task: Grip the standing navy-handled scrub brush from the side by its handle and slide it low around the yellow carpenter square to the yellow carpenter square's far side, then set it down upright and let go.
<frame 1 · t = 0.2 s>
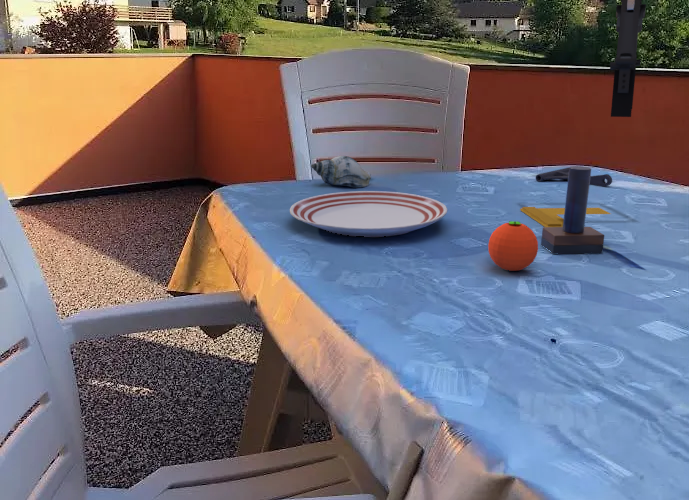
hand: (622, 112, 107), 21 cm above the table, tool pointing down, fingers open, 13 cm apart
clementine: (510, 269, 102), on the table
seashell: (341, 185, 157), on the table
bracket: (579, 182, 165), on the table
dinner plate: (367, 225, 125), on the table
yellow carpenter square: (575, 218, 131), on the table
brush: (571, 249, 112), on the table
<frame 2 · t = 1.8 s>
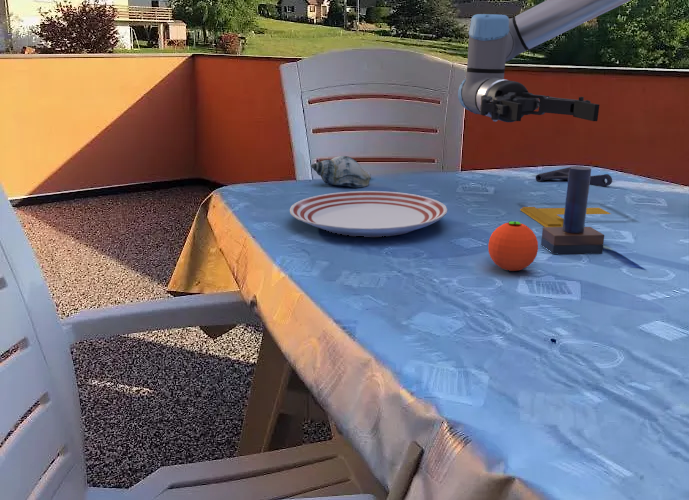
hand: (558, 112, 114), 20 cm above the table, tool horizontal, fingers open, 13 cm apart
nothing on the table moved.
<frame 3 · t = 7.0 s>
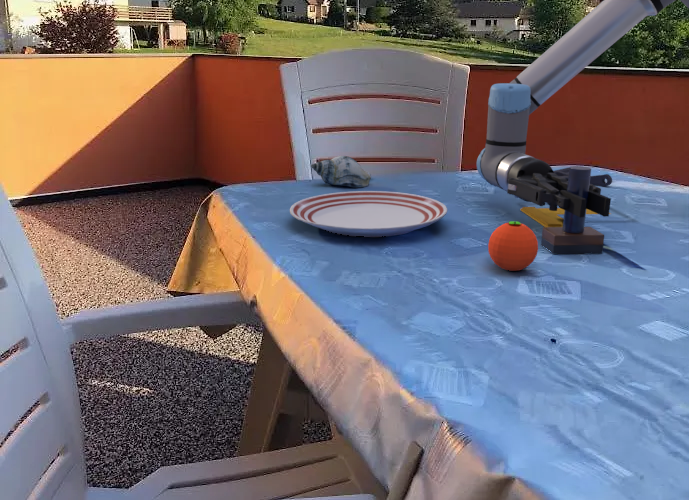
hand: (595, 207, 104), 8 cm above the table, tool horizontal, fingers closed on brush, 3 cm apart
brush: (571, 249, 112), on the table, touching gripper
everything else where it was.
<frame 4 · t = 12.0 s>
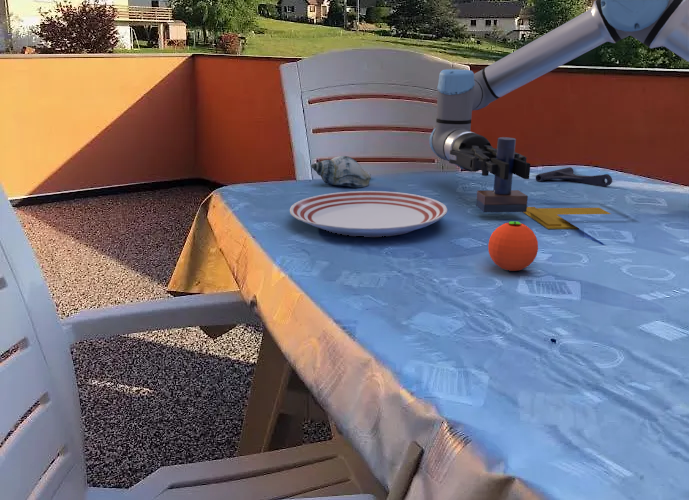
hand: (517, 171, 123), 10 cm above the table, tool horizontal, fingers closed on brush, 3 cm apart
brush: (500, 209, 131), point 2 cm above the table, touching gripper
everything else where it was.
when the fingers open (8 cm above the table, at t = 16.9 s): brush stays where it is, on the table.
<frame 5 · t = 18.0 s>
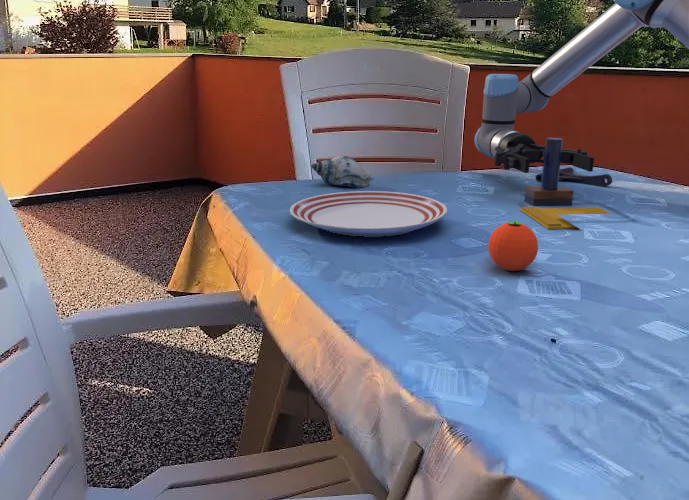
hand: (559, 165, 138), 8 cm above the table, tool horizontal, fingers open, 13 cm apart
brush: (547, 202, 143), on the table
everything else where it was.
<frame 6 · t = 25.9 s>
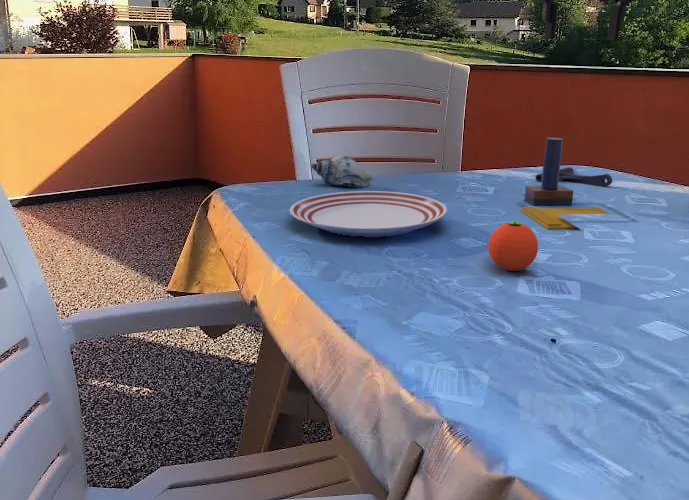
hand: (581, 40, 138), 32 cm above the table, tool pointing down, fingers open, 13 cm apart
nothing on the table moved.
at the end: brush inside the target area on the table beside the yellow carpenter square (1.2 cm from its centre), on the table; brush tilted 0°; the gripper is holding nothing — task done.
